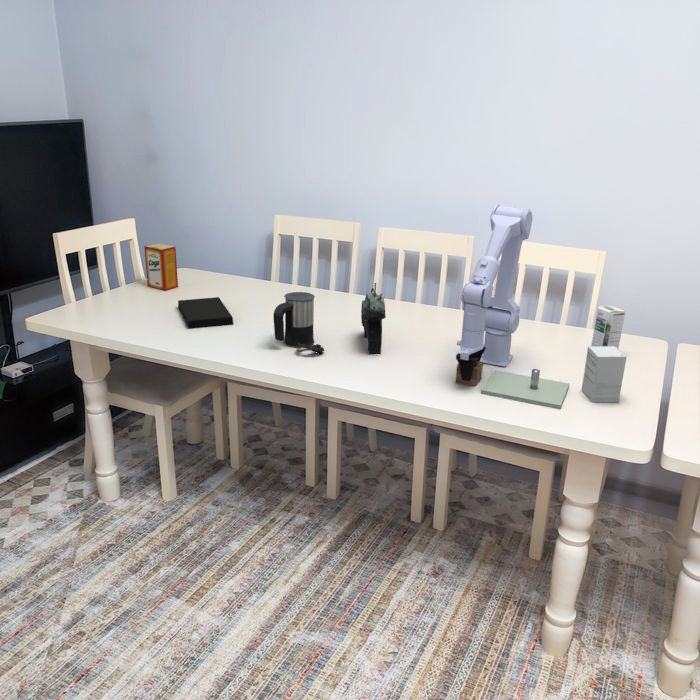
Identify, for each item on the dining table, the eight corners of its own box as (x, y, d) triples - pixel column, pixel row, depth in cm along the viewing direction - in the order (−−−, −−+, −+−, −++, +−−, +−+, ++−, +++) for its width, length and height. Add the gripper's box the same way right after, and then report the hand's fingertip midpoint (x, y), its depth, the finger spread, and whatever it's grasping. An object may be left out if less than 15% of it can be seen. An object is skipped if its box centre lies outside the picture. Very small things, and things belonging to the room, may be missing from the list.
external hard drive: (188, 330, 218) (188, 321, 217) (178, 308, 238) (177, 300, 237) (233, 325, 223) (232, 317, 222) (219, 305, 243) (219, 297, 242)
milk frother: (294, 335, 215) (294, 289, 210) (339, 344, 208) (340, 297, 203) (269, 349, 203) (268, 301, 198) (316, 359, 196) (316, 310, 191)
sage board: (494, 373, 190) (494, 369, 190) (568, 386, 183) (569, 383, 182) (480, 393, 177) (481, 389, 177) (560, 409, 170) (560, 405, 169)
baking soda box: (147, 286, 261) (144, 245, 255) (161, 283, 266) (157, 242, 260) (164, 291, 256) (161, 248, 250) (178, 287, 261) (175, 245, 256)
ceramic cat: (385, 356, 200) (388, 290, 192) (362, 357, 199) (365, 290, 192) (377, 333, 218) (380, 272, 211) (357, 333, 218) (359, 272, 211)
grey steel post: (530, 386, 180) (532, 368, 178) (538, 387, 179) (540, 369, 178) (529, 388, 178) (531, 371, 177) (536, 390, 178) (539, 372, 176)
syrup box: (589, 352, 207) (596, 306, 202) (604, 350, 209) (612, 304, 204) (602, 359, 202) (610, 312, 197) (618, 356, 204) (626, 310, 199)
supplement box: (608, 390, 181) (615, 345, 177) (619, 402, 174) (627, 356, 170) (580, 390, 181) (587, 345, 176) (590, 402, 174) (598, 356, 169)
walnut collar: (461, 375, 188) (462, 358, 186) (481, 379, 186) (483, 361, 184) (455, 382, 183) (457, 365, 182) (476, 386, 181) (477, 369, 180)
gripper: (466, 318, 187) (461, 364, 192) (450, 333, 175) (446, 382, 180) (491, 322, 184) (486, 368, 189) (477, 338, 172) (473, 388, 177)
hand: (469, 376), depth 184 cm, fingers closed on walnut collar, 6 cm apart
